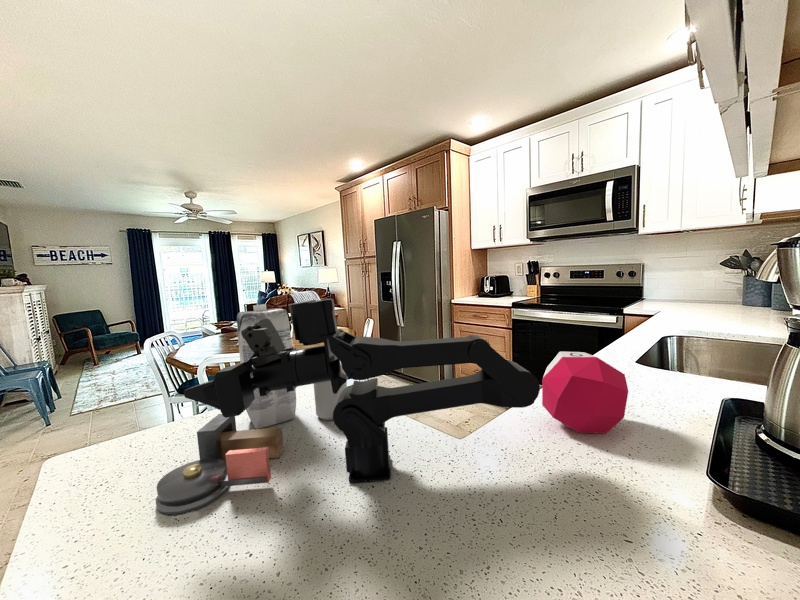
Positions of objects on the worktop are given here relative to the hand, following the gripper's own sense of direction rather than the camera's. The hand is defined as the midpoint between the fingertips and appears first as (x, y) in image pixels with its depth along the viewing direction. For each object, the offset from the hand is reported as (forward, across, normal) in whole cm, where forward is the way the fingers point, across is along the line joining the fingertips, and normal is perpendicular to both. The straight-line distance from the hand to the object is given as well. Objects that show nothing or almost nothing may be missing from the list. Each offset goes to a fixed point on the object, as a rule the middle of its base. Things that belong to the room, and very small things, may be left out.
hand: (202, 383), depth 52 cm
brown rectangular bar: (0, -8, +16) cm, 18 cm away
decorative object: (-64, -10, +23) cm, 69 cm away
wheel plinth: (+3, +2, +16) cm, 17 cm away
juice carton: (0, -24, +16) cm, 29 cm away
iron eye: (+4, -8, +16) cm, 18 cm away
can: (-14, -24, +18) cm, 33 cm away
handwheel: (0, +2, +16) cm, 16 cm away
